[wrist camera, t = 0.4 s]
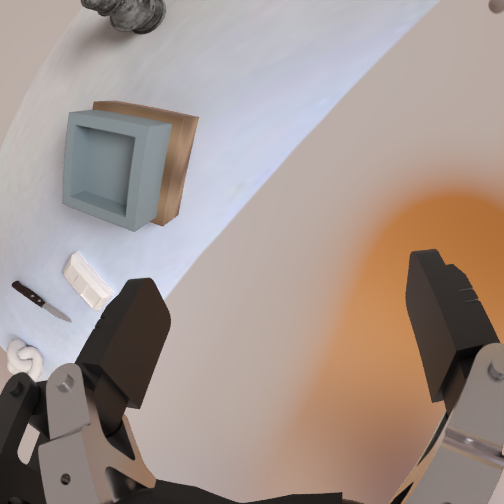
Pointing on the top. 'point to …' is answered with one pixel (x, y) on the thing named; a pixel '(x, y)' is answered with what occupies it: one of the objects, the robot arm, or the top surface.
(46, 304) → the kitchen knife
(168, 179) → the tower base
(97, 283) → the soap bar
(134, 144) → the blue-grey square tray
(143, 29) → the salt shaker
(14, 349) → the white knot sculpture
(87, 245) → the top surface
